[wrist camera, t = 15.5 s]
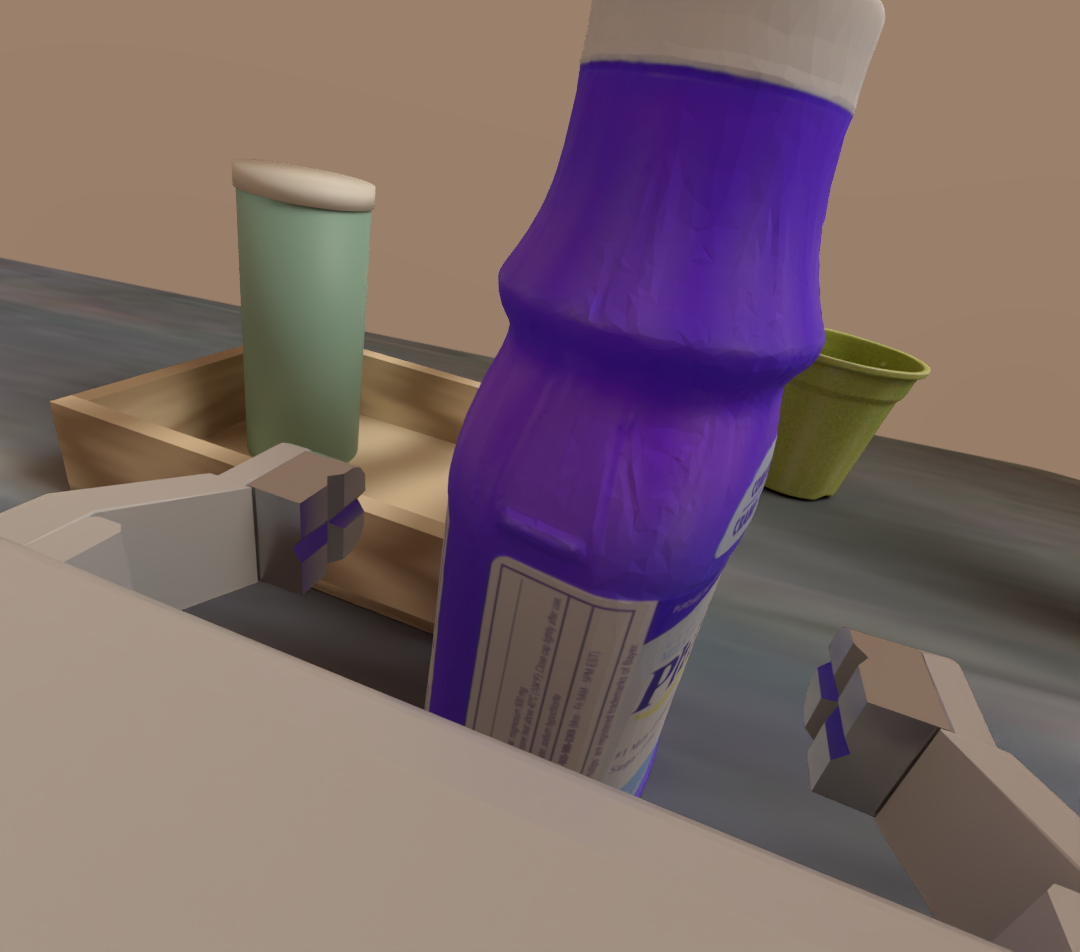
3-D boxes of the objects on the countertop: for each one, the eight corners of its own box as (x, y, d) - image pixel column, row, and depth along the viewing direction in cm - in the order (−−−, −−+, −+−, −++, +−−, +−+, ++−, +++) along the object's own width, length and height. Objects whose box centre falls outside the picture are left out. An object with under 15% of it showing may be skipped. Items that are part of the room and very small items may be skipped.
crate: (579, 483, 32) (595, 415, 30) (477, 651, 20) (493, 556, 18) (298, 395, 35) (296, 329, 33) (71, 494, 23) (49, 401, 22)
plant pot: (708, 431, 42) (749, 309, 38) (843, 464, 41) (900, 343, 37) (711, 490, 34) (764, 343, 30) (880, 534, 33) (959, 387, 29)
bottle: (574, 963, 13) (1033, -128, 5) (367, 820, 15) (426, -138, 6) (666, 726, 19) (935, 70, 10) (511, 645, 21) (636, 34, 12)
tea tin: (379, 441, 31) (398, 188, 25) (319, 485, 26) (326, 189, 20) (291, 413, 32) (290, 161, 26) (219, 450, 27) (198, 155, 21)
